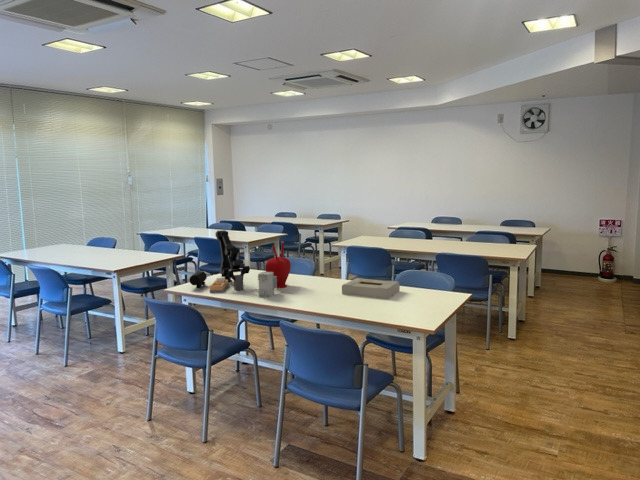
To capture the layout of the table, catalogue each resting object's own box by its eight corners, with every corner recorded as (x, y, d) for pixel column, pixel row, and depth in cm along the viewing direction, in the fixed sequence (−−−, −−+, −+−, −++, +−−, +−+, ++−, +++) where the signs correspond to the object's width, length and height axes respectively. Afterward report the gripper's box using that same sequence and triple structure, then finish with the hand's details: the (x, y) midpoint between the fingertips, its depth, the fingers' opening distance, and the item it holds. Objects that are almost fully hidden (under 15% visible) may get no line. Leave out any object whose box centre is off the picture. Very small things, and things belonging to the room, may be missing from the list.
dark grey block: (234, 289, 321) (233, 275, 320) (241, 288, 323) (240, 274, 322) (236, 290, 317) (235, 276, 315) (243, 290, 319) (242, 275, 318)
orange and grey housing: (216, 285, 334) (216, 276, 333) (228, 285, 334) (228, 275, 333) (209, 292, 313) (209, 282, 312) (222, 292, 313) (222, 282, 312)
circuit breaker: (278, 292, 311) (277, 270, 309) (268, 297, 297) (268, 274, 295) (267, 291, 313) (267, 269, 311) (258, 296, 300) (257, 273, 298)
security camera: (208, 284, 340) (207, 270, 339) (199, 289, 322) (198, 275, 320) (199, 283, 341) (198, 270, 339) (189, 289, 322) (189, 275, 321)
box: (341, 295, 302) (388, 300, 287) (341, 283, 301) (388, 287, 287) (355, 288, 322) (399, 292, 308) (355, 277, 322) (399, 280, 307)
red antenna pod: (277, 282, 340) (276, 242, 336) (293, 283, 336) (292, 242, 332) (264, 289, 321) (263, 246, 317) (281, 290, 316) (280, 246, 313)
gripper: (222, 256, 316) (227, 275, 308) (248, 254, 325) (254, 272, 316) (219, 266, 324) (224, 284, 316) (245, 263, 333) (251, 281, 324)
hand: (239, 280), depth 318 cm, fingers closed on dark grey block, 5 cm apart
